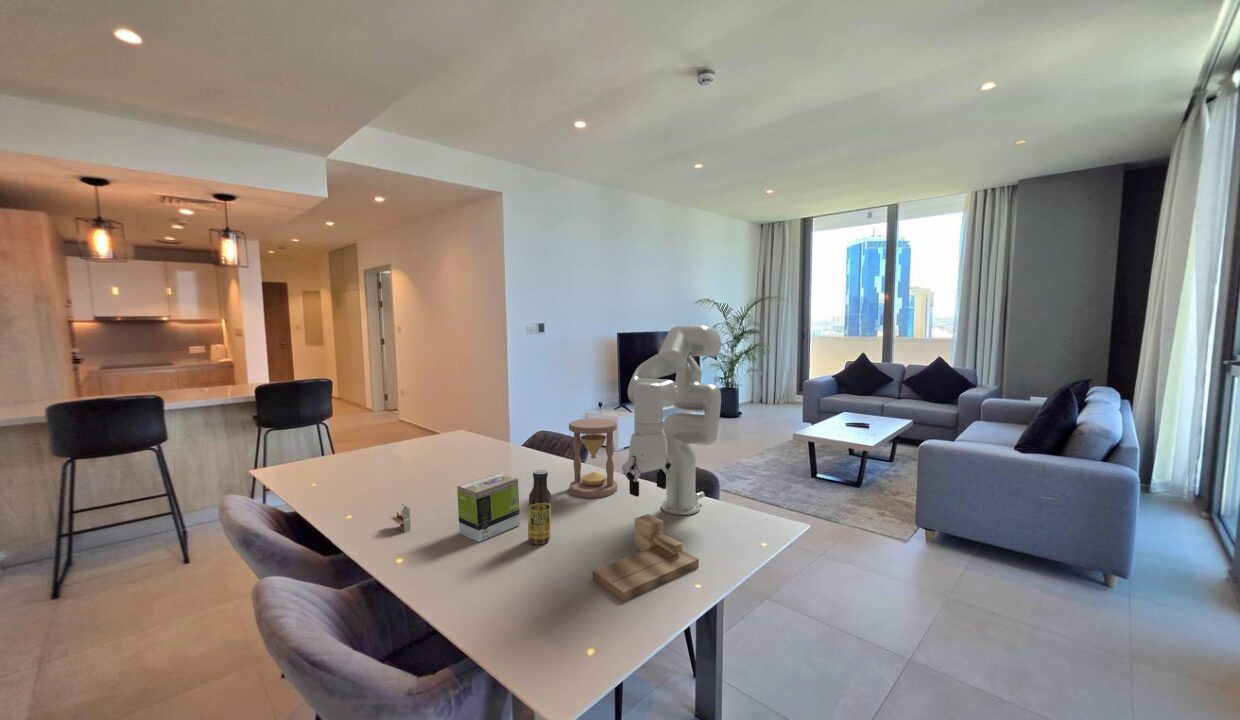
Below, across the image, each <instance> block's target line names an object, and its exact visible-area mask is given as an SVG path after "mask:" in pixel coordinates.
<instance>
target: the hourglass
mask: <svg viewBox="0 0 1240 720" xmlns="http://www.w3.org/2000/svg"><path fill="white" fill-rule="evenodd" d="M617 428H618V422H617V421H615V420H614V419H608V418H595V417H593V418H581V419H576V420H572V421H570V422H569V423H568V430H569V431H570V432H571V433H572V432H573V443H572V448H573V451H574V454H575V455H574V458H573V465H572V466H573V471H574V480H573V481H572V482H570V484H569V491H570V493H571V494H573V495H574V496H576V497H579V498H587V499H589V498H590V499H597V498H603V497H609V496H611V495H614V494H615V493H616V492H617V491H618V482H617V481H616V480H615V479H614V471H615V463H614V461H613V457H614V455H613V454H614V451H615V445H614V431H616V430H617ZM581 434H583V435H581ZM604 434H606V435H604ZM605 442H606V444H605V452H606V456H607V460H606V464H605V472H606V476H605V474H602V473H599V472H595V471H593V472H592V471H591V472H590V473H587V474H585V475H583V476H582V475H581V472H582V471H581V470H582V459H581V455H580V453H581V449H582V443H583V445H584V446H585V448H586V449H587V451H588V453H590V455H591V456H590V457H591V459H593V460H594V459H597V456H596V455H597V454H598V452H599V451H600V450H601V448H602V446H603V444H604V443H605Z"/></svg>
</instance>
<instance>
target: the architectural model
mask: <svg viewBox="0 0 1240 720" xmlns="http://www.w3.org/2000/svg"><path fill="white" fill-rule="evenodd" d="M398 508H399V511H396V515H392V516H389V519H390V520H392V521H393V522H394V524H395V523H396V524H397V525H400V528H401V531H402V532H403V533H408V532H411V531H410V530H411V508H410V507H409V506H407V505H406V504H405V503H403V502H402V503H401V505H399V506H398ZM398 512H400V513H398Z"/></svg>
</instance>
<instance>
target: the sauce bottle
mask: <svg viewBox="0 0 1240 720" xmlns="http://www.w3.org/2000/svg"><path fill="white" fill-rule="evenodd" d="M548 474H549V473H548V471H547V470H545V469H537V470H535V471H534V470H533V473H532V477H533V485H532V490H531V491H530V493H529V496H528V509H527V510H528V518H527V519H528V520H527V521H528V522H527V528H528V529H527V536H528V542H529V543H530V544H533V545H535V546H536V545H543V544H546V543H547V544H548V542H549V541H550V539H551V524H552V523H551V520H552V516H551V513H552V498H551V497H552V496H551V492H550V490H549V489H548V476H549V475H548Z"/></svg>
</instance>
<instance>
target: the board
mask: <svg viewBox="0 0 1240 720" xmlns="http://www.w3.org/2000/svg"><path fill="white" fill-rule="evenodd" d="M699 560H700V559H699V558H697V557H696V556H694V555H691V553H687V552H686V551H685V550H682V551H681V552H678V555H675V553H673V552H671V551H669V550H667V549H665V548H663V547H662V546H660V545H657V546H654V547H652V548H649V549H647V550H644V551H640V552H637V553H634V554H631V555H630V556H627V557H624V558H622V559H619V560H617V561H614V562H611V563H609V564H606V565H604V566H601V567H597V568H596V569H594V570H592V580H593V581H595V582H596V583H597V584H599V585H601V586H602V587H603V588H604V589H606V590H607V591H609V592H611V593H612V594H613V595H615V597H617V598H618V599H620V600H621V601H623V602H625V601H628V600H630V599H631V598H634V597H636V596H638V595H641V594H643V593H645V592H647V591H649V590H652V589H653V588H655V587H658V586H660V585H662V584H665V583H666V582H668V581H671V580H673V579H675V578H677V577H679V576H682V575H684V574H686V573H688V572H690V571H693V570H695V569H697V568H699V567H700V565H699V563H700V561H699Z"/></svg>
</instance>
